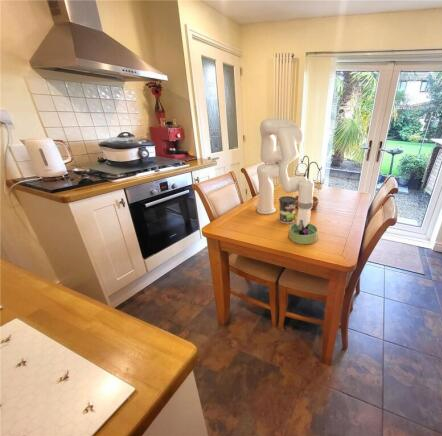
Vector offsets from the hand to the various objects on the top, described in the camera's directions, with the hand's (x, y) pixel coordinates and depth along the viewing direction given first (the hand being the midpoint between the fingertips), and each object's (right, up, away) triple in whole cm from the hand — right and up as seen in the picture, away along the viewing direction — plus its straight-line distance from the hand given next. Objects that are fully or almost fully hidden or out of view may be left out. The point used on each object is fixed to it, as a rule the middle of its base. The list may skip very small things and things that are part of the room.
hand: (303, 235), depth 127 cm
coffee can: (-9, +8, +20) cm, 24 cm away
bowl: (0, -1, +1) cm, 2 cm away
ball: (0, +2, -1) cm, 2 cm away
